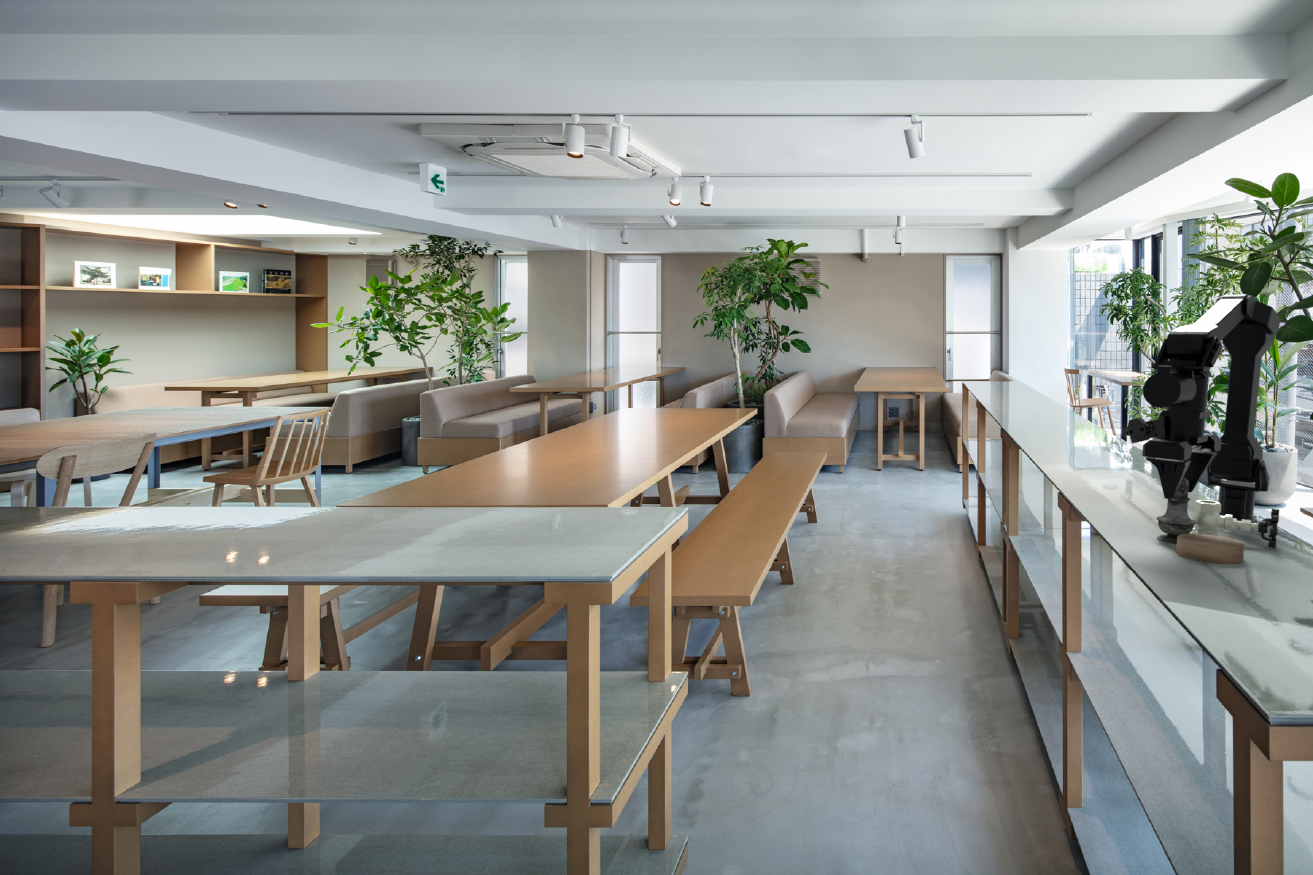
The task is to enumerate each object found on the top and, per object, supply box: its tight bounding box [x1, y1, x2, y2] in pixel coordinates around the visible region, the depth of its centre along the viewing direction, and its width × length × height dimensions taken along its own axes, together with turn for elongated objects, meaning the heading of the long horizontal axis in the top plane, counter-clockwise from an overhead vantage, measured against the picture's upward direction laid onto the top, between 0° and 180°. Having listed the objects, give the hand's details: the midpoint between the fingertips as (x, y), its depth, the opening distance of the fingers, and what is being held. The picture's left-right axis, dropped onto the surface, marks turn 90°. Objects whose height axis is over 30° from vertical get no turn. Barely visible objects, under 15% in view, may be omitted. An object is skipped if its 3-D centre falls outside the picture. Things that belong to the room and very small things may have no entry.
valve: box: [1191, 499, 1280, 549], centre depth 143 cm, size 7×7×12 cm
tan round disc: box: [1175, 533, 1245, 565], centre depth 134 cm, size 9×9×2 cm
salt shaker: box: [1155, 478, 1196, 545], centre depth 144 cm, size 6×6×12 cm
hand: (1178, 495), depth 143 cm, fingers open, 9 cm apart
